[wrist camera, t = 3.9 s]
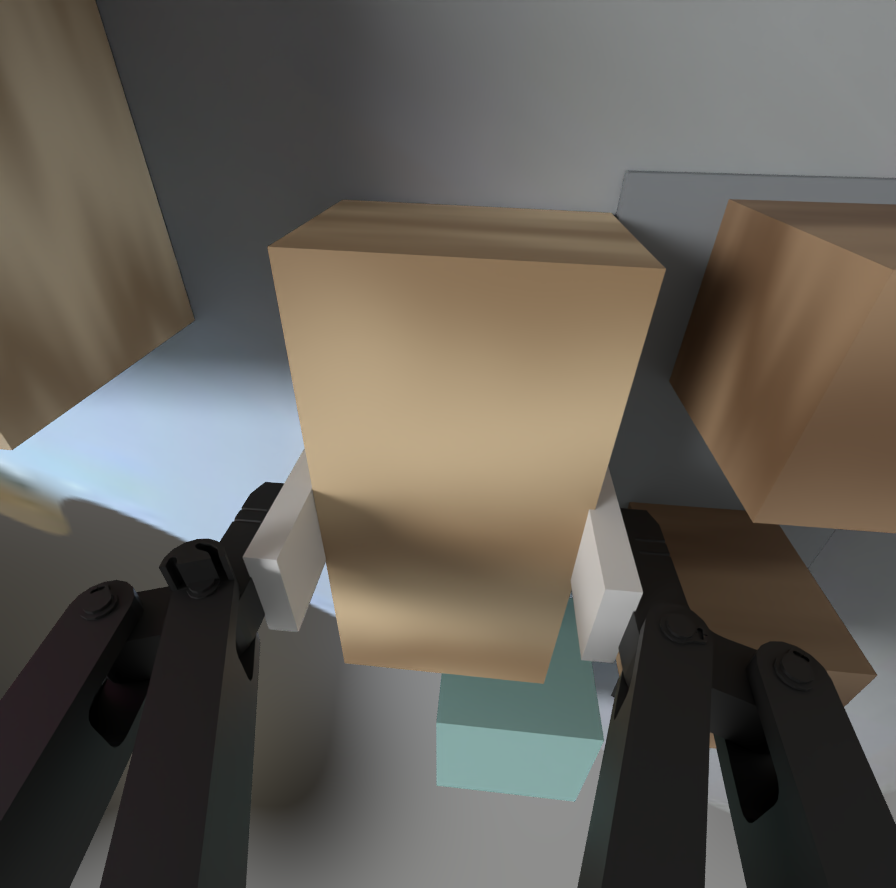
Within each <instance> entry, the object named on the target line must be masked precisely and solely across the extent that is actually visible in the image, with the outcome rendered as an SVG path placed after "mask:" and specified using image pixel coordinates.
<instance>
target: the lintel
mask: <svg viewBox="0 0 896 888" xmlns="http://www.w3.org/2000/svg"><path fill="white" fill-rule="evenodd" d="M267 248H268V253H269V258H270V264H271V269H272V275H273V280H274V285H275V291H276V296H277V301H278V307H279V312H280V318H281V323H282V328H283V334H284V339H285V344H286V350H287V355H288V361H289V366H290V371H291V377H292V382H293V387H294V393H295V398H296V404H297V409H298V414H299V420H300V425H301V430H302V436H303V441H304V447H305V452H306V457H307V463H308V468H309V473H310V479H311V484H312V490H313V495H314V500H315V506H316V511H317V516H318V522H319V527H320V532H321V538H322V543H323V548H324V553H325V557H326V565H327V570H328V575H329V581H330V586H331V592H332V597H333V602H334V608H335V613H336V618H337V624H338V629H339V634H340V640H341V645H342V650H343V656H344V661H345V663H349V664H359V665H369V666H379V667H387V668H397V669H407V670H416V671H426V672H435V673H445V674H454V675H464V676H473V677H483V678H492V679H502V680H512V681H521V682H531V683H540V684H544V681H545V678H546V674H547V671H548V668H549V664H550V661H551V657H552V654H553V651H554V647H555V644H556V640H557V637H558V634H559V630H560V627H561V624H562V620H563V617H564V613H565V610H566V607H567V603H568V600H569V596H570V593H571V590H572V587H571V577H572V573H573V569H574V566H575V562H576V558H577V554H578V550H579V546H580V543H581V539H582V535H583V531H584V527H585V524H586V520H587V516H588V512H589V509H591V510H595V508H596V505H597V501H598V498H599V495H600V491H601V488H602V484H603V481H604V478H605V474H606V471H607V467H608V464H609V461H610V457H611V454H612V450H613V447H614V444H615V440H616V437H617V433H618V430H619V427H620V423H621V420H622V417H623V413H624V410H625V406H626V403H627V400H628V396H629V393H630V389H631V386H632V383H633V379H634V376H635V372H636V369H637V366H638V362H639V359H640V355H641V352H642V349H643V345H644V342H645V338H646V335H647V332H648V328H649V325H650V322H651V318H652V315H653V311H654V308H655V305H656V301H657V298H658V294H659V291H660V288H661V284H662V281H663V277H664V274H665V271H666V268H665V267H664V266H663V265H662V264H661V263H660V262H659V261H658V260H657V259H656V258H655V257H654V256H653V255H652V254H651V253H650V252H649V251H648V250H647V249H646V248H645V247H644V246H643V245H642V244H641V243H640V242H639V241H638V240H637V239H636V238H635V237H634V236H633V235H632V234H631V233H630V232H629V231H628V230H627V229H626V228H625V227H624V226H623V225H622V224H621V223H620V222H619V221H618V220H617V218H616V217H615V216H614V215H613V214H612V213H602V212H582V211H562V210H541V209H521V208H501V207H481V206H460V205H440V204H420V203H400V202H379V201H359V200H341V201H340V202H338V203H337V204H335V205H333V206H332V207H330V208H329V209H327V210H325V211H324V212H322V213H321V214H319V215H317V216H316V217H314V218H313V219H311V220H309V221H308V222H306V223H305V224H303V225H301V226H300V227H298V228H297V229H295V230H293V231H292V232H290V233H289V234H287V235H285V236H284V237H282V238H281V239H279V240H277V241H276V242H274V243H273V244H271V245H269V246H268V247H267Z"/></svg>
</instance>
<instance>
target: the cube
mask: <svg viewBox="0 0 896 888" xmlns="http://www.w3.org/2000/svg"><path fill="white" fill-rule="evenodd" d="M436 730H437V731H436V732H437V734H436V735H437V736H436V737H437V786H446V787H454V788H463V789H473V790H480V791H489V792H498V793H506V794H515V795H524V796H532V797H540V798H549V799H557V800H566V801H574V802H575V801H576V798H577V796H578V794H579V792H580V790H581V788H582V786H583V784H584V782H585V780H586V777H587V775H588V773H589V771H590V769H591V767H592V765H593V763H594V761H595V758H596V756H597V754H598V752H599V750H600V748H601V746H602V744H603V742H604V738H603V731H602V725H601V719H600V712H599V706H598V699H597V693H596V687H595V680H594V674H593V668H592V661H585V660H581V654H580V647H579V639H578V632H577V625H576V617H575V610H574V602H573V598H569V600H568V603H567V607H566V610H565V613H564V617H563V620H562V624H561V627H560V630H559V634H558V637H557V640H556V644H555V647H554V651H553V654H552V657H551V661H550V664H549V668H548V671H547V674H546V678H545V681H544V684H540V683H531V682H521V681H512V680H502V679H492V678H483V677H473V676H464V675H454V674H445V673H442V676H441V685H440V695H439V705H438V714H437V724H436Z"/></svg>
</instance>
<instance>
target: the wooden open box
mask: <svg viewBox="0 0 896 888" xmlns="http://www.w3.org/2000/svg"><path fill="white" fill-rule="evenodd" d="M193 321H195V319H194V316H193V313H192V309H191V306H190V303H189V300H188V297H187V293H186V290H185V287H184V284H183V280H182V277H181V274H180V271H179V268H178V264H177V261H176V258H175V255H174V252H173V248H172V245H171V242H170V239H169V236H168V232H167V229H166V226H165V223H164V219H163V216H162V213H161V210H160V207H159V203H158V200H157V197H156V194H155V191H154V187H153V184H152V181H151V178H150V174H149V171H148V168H147V165H146V162H145V158H144V155H143V152H142V149H141V146H140V142H139V139H138V136H137V133H136V130H135V126H134V123H133V120H132V117H131V113H130V110H129V107H128V104H127V101H126V97H125V94H124V91H123V88H122V85H121V81H120V78H119V75H118V72H117V68H116V65H115V62H114V59H113V56H112V52H111V49H110V46H109V43H108V40H107V36H106V33H105V30H104V27H103V24H102V20H101V17H100V14H99V11H98V7H97V4H96V1H95V0H0V449H5V450H13V449H14V448H16V447H17V446H19V445H20V444H21V443H23V442H24V441H26V440H27V439H29V438H30V437H31V436H33V435H34V434H36V433H37V432H38V431H40V430H41V429H43V428H44V427H45V426H47V425H48V424H50V423H51V422H52V421H54V420H55V419H57V418H58V417H60V416H61V415H62V414H64V413H65V412H67V411H68V410H69V409H71V408H72V407H74V406H75V405H76V404H78V403H79V402H81V401H82V400H83V399H85V398H86V397H88V396H89V395H91V394H92V393H93V392H95V391H96V390H98V389H99V388H100V387H102V386H103V385H105V384H106V383H107V382H109V381H110V380H112V379H113V378H114V377H116V376H117V375H119V374H120V373H122V372H123V371H124V370H126V369H127V368H129V367H130V366H131V365H133V364H134V363H136V362H137V361H138V360H140V359H141V358H143V357H144V356H145V355H147V354H148V353H150V352H151V351H153V350H154V349H155V348H157V347H158V346H160V345H161V344H162V343H164V342H165V341H167V340H168V339H169V338H171V337H172V336H174V335H175V334H176V333H178V332H179V331H181V330H182V329H183V328H185V327H186V326H188V325H189V324H191V323H192V322H193Z"/></svg>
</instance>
